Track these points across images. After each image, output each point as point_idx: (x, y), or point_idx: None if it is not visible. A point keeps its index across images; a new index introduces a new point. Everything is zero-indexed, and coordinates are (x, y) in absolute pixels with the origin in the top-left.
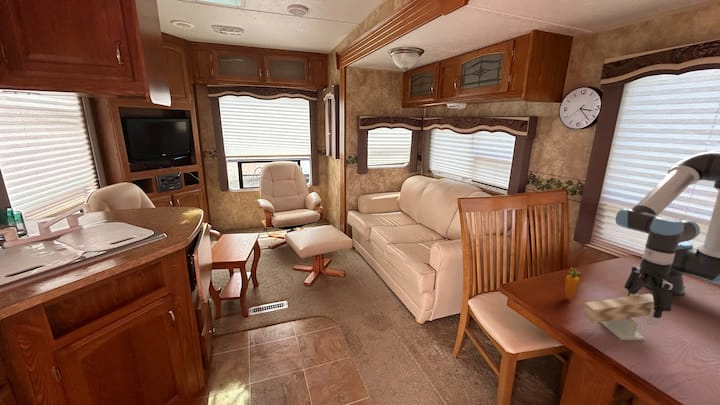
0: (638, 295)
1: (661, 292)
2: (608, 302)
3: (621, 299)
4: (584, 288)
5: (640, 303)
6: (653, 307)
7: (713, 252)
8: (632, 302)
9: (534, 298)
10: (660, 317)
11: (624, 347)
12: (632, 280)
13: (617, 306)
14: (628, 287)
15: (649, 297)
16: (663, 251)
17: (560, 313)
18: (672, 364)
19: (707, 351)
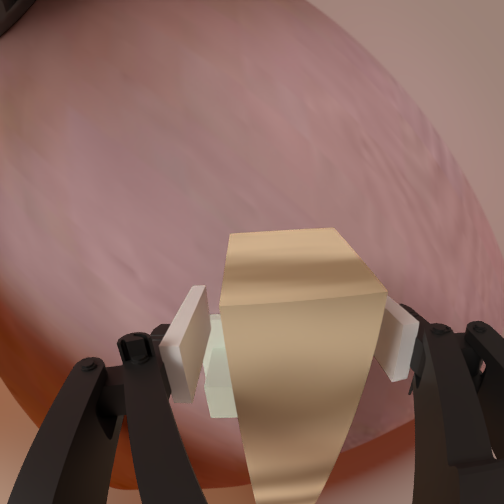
0: (239, 406)
1: (481, 445)
2: (279, 496)
3: (268, 473)
4: (3, 276)
5: (346, 434)
6: (395, 370)
7: None
8: (317, 454)
9: (134, 469)
10: (407, 308)
11: (373, 388)
12: (98, 484)
13: (321, 487)
14: (119, 415)
15: (298, 360)
16: None
17: (202, 460)
18: (448, 296)
19: (394, 95)
